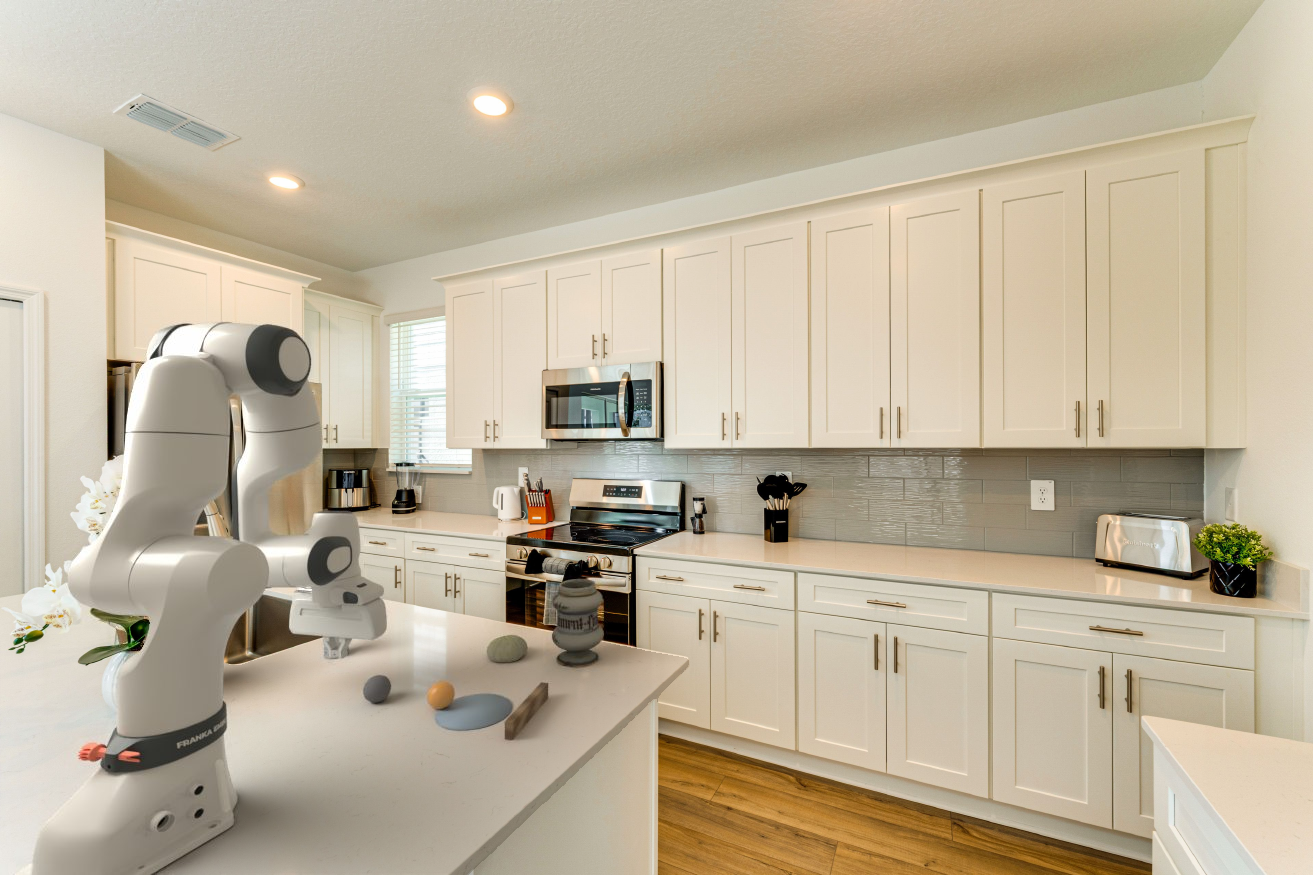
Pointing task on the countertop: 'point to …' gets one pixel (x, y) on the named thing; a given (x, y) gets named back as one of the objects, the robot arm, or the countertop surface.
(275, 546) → the robot arm
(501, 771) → the countertop surface
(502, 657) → the sea urchin shell
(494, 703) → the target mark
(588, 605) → the apothecary jar
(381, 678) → the gray ball
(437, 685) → the object ball
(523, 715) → the wall
